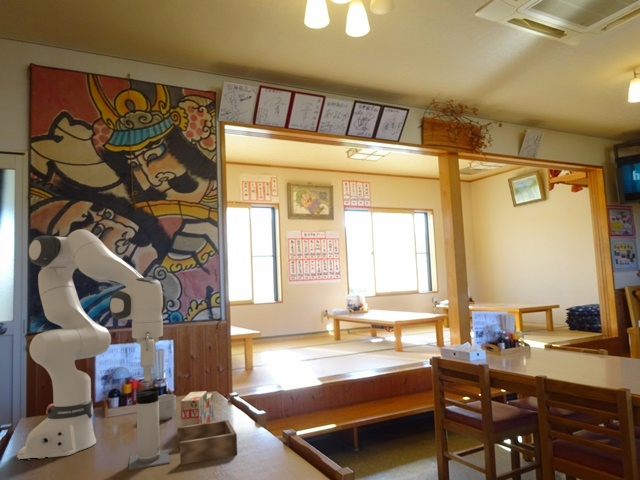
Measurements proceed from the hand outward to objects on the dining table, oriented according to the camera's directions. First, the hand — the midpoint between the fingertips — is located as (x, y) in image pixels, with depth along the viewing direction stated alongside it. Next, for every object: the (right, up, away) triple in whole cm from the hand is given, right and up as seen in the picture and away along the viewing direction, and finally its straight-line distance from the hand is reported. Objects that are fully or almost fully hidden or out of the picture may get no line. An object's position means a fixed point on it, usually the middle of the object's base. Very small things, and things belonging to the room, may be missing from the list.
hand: (147, 377), depth 138 cm
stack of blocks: (+8, -27, +29) cm, 40 cm away
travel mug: (+1, -24, -2) cm, 24 cm away
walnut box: (+16, -24, +3) cm, 29 cm away
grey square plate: (+1, -24, -2) cm, 24 cm away
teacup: (-10, -29, +43) cm, 53 cm away
